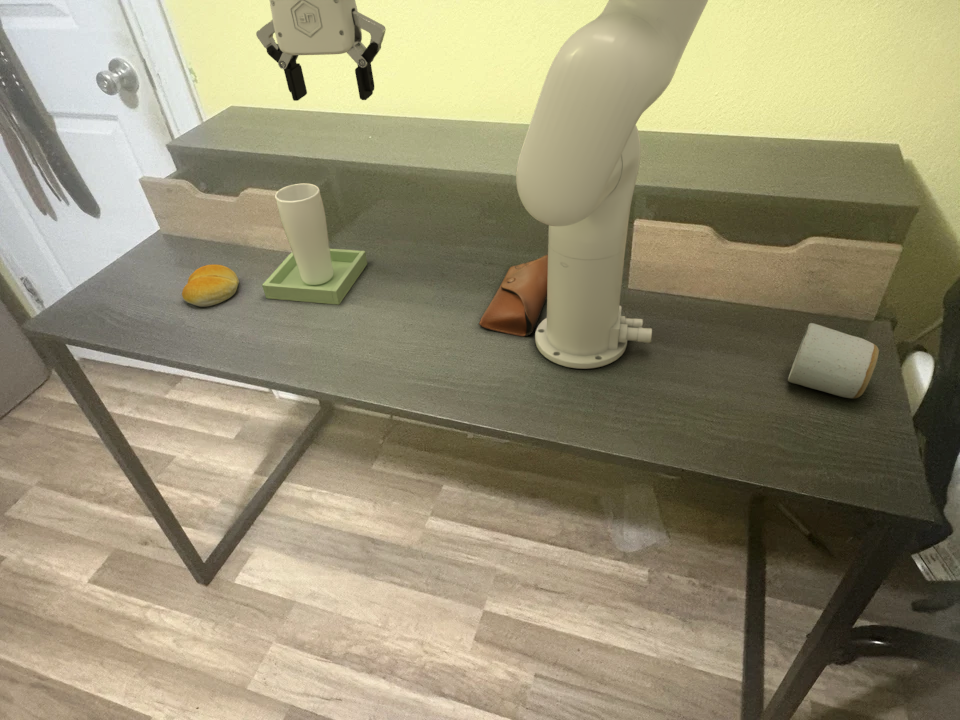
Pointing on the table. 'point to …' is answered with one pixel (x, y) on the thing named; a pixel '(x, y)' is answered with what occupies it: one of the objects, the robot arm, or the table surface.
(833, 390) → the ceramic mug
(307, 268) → the drinking glass
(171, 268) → the table surface
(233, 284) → the bread roll
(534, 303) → the sunglasses case
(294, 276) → the tray
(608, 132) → the robot arm
